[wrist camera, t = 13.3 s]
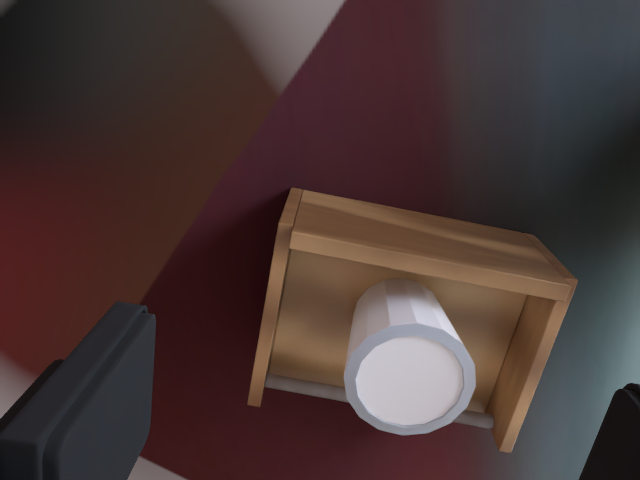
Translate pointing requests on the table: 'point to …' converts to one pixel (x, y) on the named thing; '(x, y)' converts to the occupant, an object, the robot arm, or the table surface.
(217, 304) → the table surface
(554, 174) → the table surface
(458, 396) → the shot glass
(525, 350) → the spice rack
